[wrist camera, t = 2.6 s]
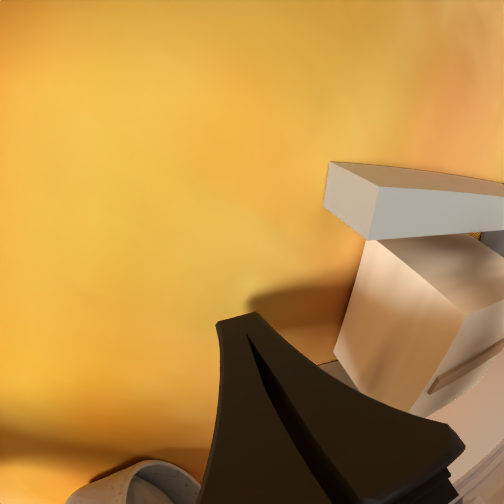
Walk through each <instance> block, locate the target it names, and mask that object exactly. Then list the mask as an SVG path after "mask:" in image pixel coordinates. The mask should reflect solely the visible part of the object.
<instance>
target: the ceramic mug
mask: <svg viewBox="0 0 504 504" xmlns="http://www.w3.org/2000/svg"><path fill="white" fill-rule="evenodd" d="M200 488H201V485H200V484H199V483H198V482H197V481H196V480H195V479H194V478H193V477H192V476H191V475H190V474H189V473H187V472H186V471H184V470H183V469H181V468H180V467H178V466H176V465H174V464H171V463H169V462H165V461H161V460H145V461H141V462H139V463H137V464H134V465H132V466H130V467H128V468H126V469H123V470H121V471H119V472H116V473H114V474H112V475H109V476H107V477H105V478H103V479H101V480H98V481H95V482H92V483H90V484H87V485H85V486H83V487H81V488H79V489H78V490H76V491H75V492H74V493H73V494H72V495H71V496H70V497H69V498H68V500H67V501H66V503H65V504H195V503H196V501H197V498H198V495H199V491H200Z"/></svg>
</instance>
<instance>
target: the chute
mask: <svg viewBox="0 0 504 504" xmlns="http://www.w3.org/2000/svg"><path fill="white" fill-rule="evenodd" d="M323 207H324V208H326V209H327V210H328V211H330V212H331V213H332V214H334V215H335V216H336V217H338V218H339V219H340V220H341V221H343V222H344V223H345V224H347V225H348V226H349V227H350V228H352V229H353V230H354V231H356V232H357V233H358V234H359V235H361V236H362V237H363V238H364V239H366V240H367V241H370V240H383V239H395V238H408V237H421V236H433V235H446V234H459V233H471V232H484V231H497V230H504V184H503V183H498V182H492V181H487V180H482V179H476V178H470V177H464V176H458V175H452V174H445V173H438V172H431V171H423V170H416V169H407V168H399V167H389V166H379V165H368V164H357V163H343V162H330V163H329V170H328V176H327V183H326V189H325V196H324V202H323ZM318 367H320V368H321V369H323V370H324V371H326V372H327V373H329V374H330V375H332V376H333V377H335V378H336V379H338V380H339V381H341V382H343V383H345V384H346V385H348V386H350V387H351V388H353V389H355V390H357V391H359V390H358V388H357V387H356V385H355V384H354V382H353V381H352V379H351V378H350V376H349V375H348V373H347V372H346V371H345V369H344V368H343V366H342V365H341V363H340V362H339V360H338V361H335V362H331V363H327V364H323V365H319V366H318ZM359 392H360V391H359Z"/></svg>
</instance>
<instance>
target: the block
mask: <svg viewBox="0 0 504 504" xmlns="http://www.w3.org/2000/svg"><path fill="white" fill-rule="evenodd" d="M503 347H504V258H503V257H502V256H500V255H499V254H498V253H496V252H495V251H493V250H492V249H490V248H489V247H487V246H486V245H484V244H483V243H481V242H480V241H478V240H477V239H475V238H474V237H472V236H471V235H469V234H468V233H459V234H446V235H433V236H421V237H408V238H395V239H383V240H370V241H367V240H366V242H365V246H364V250H363V254H362V258H361V262H360V266H359V269H358V273H357V277H356V280H355V284H354V287H353V291H352V294H351V298H350V301H349V304H348V308H347V311H346V314H345V317H344V321H343V324H342V327H341V330H340V333H339V336H338V339H337V342H336V345H335V348H334V351H333V353H334V354H335V356H336V357H337V359H338V360H339V362H340V363H341V365H342V366H343V368H344V369H345V371H346V372H347V373H348V375H349V376H350V378H351V379H352V381H353V382H354V384H355V385H356V387H357V388H358V390H359V391H360V392H361V393H363V394H364V395H366V396H369V397H371V398H373V399H375V400H378V401H380V402H382V403H384V404H387V405H389V406H391V407H393V408H396V409H399V410H401V411H404V412H407V413H410V414H413V415H416V416H419V417H422V418H425V417H427V416H429V415H430V414H432V413H434V412H435V411H437V410H439V409H441V408H442V407H444V406H446V405H447V404H449V403H451V402H452V401H454V400H455V399H457V398H458V397H460V396H461V395H463V394H465V393H466V392H467V391H469V390H471V389H472V388H473V387H475V386H476V385H477V384H478V383H479V381H480V380H481V379H482V377H483V376H484V374H485V373H486V371H487V370H488V368H489V367H490V365H491V364H492V362H493V361H494V359H495V358H496V356H497V355H498V353H499V352H501V350H502V349H503Z"/></svg>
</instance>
